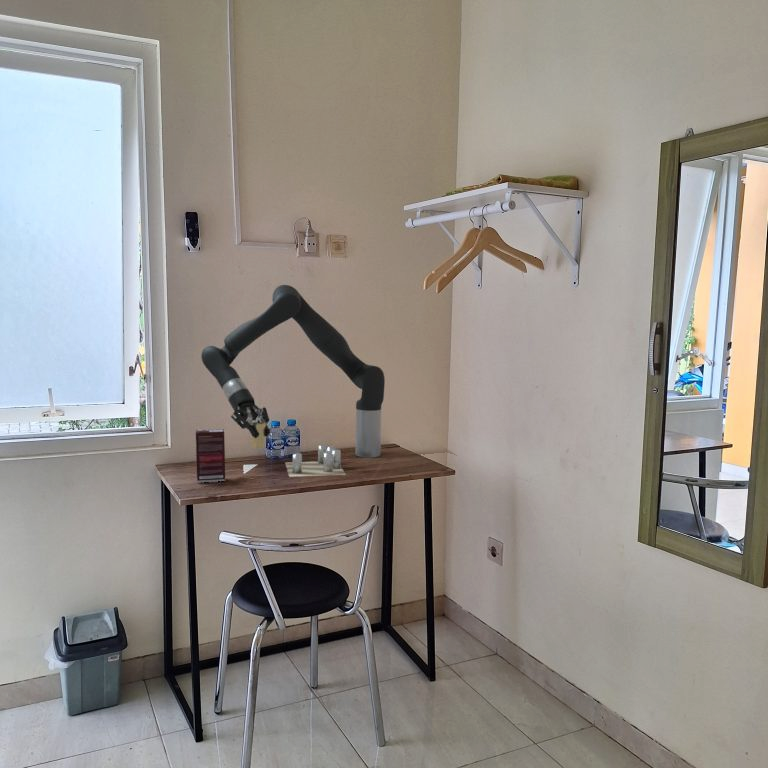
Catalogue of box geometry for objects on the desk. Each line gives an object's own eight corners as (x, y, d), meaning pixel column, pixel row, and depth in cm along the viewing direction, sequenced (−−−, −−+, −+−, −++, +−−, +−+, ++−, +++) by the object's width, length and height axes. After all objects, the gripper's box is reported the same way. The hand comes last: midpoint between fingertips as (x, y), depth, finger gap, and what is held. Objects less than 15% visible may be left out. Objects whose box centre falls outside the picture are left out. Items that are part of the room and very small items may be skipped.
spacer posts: (289, 462, 238) (289, 445, 237) (336, 461, 241) (336, 444, 241) (292, 473, 222) (292, 455, 222) (343, 472, 226) (343, 454, 225)
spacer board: (285, 465, 238) (285, 462, 238) (337, 463, 242) (337, 460, 242) (289, 479, 219) (289, 476, 219) (346, 477, 222) (346, 474, 222)
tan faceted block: (255, 445, 230) (255, 421, 229) (266, 446, 230) (266, 422, 229) (250, 448, 226) (250, 423, 225) (262, 449, 225) (262, 424, 224)
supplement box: (224, 478, 219) (224, 428, 218) (225, 482, 215) (224, 431, 213) (196, 479, 217) (195, 429, 215) (196, 483, 212) (195, 432, 211)
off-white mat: (243, 465, 236) (243, 464, 236) (273, 465, 238) (273, 463, 238) (243, 478, 219) (243, 477, 219) (275, 477, 221) (275, 476, 221)
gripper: (226, 389, 225) (251, 431, 219) (259, 386, 236) (284, 425, 230) (215, 404, 228) (240, 445, 222) (249, 400, 240) (273, 439, 234)
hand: (262, 435), depth 226 cm, fingers closed on tan faceted block, 4 cm apart
